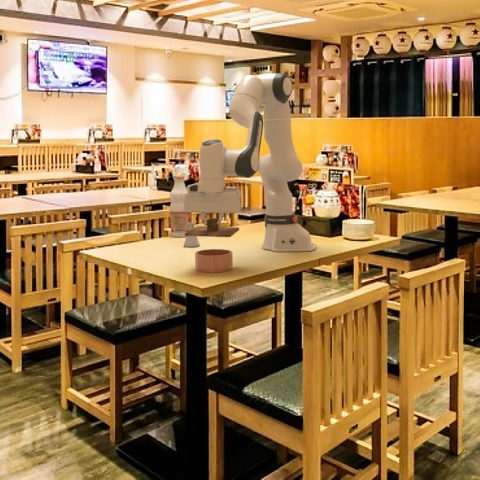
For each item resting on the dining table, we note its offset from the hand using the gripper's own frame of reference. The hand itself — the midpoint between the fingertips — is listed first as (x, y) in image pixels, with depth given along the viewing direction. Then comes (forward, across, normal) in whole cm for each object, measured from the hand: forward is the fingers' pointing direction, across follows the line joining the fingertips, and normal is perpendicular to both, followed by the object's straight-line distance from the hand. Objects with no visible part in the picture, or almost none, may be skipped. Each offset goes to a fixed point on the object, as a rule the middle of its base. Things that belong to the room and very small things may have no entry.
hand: (212, 225), depth 233 cm
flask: (+16, +20, -43) cm, 50 cm away
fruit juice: (+16, +32, -68) cm, 77 cm away
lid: (+3, 0, 0) cm, 3 cm away
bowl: (+16, 0, 0) cm, 16 cm away
